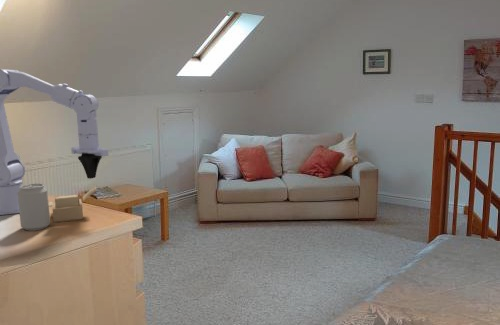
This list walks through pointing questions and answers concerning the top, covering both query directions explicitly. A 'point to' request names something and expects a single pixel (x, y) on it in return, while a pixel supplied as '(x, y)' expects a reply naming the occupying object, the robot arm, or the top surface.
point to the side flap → (89, 193)
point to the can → (33, 207)
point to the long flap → (66, 202)
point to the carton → (67, 211)
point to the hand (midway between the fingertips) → (91, 177)
